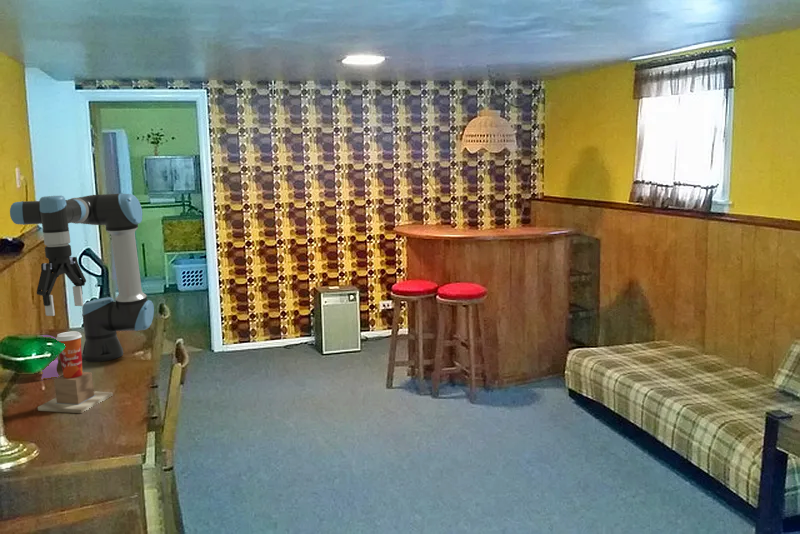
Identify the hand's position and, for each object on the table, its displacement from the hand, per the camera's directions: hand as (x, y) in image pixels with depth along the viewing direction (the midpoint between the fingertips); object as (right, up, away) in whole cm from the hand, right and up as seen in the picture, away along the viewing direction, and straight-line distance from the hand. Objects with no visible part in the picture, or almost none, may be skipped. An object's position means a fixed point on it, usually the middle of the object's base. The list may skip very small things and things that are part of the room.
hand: (65, 310), depth 234 cm
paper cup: (+1, -21, +3) cm, 22 cm away
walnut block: (+2, -29, +4) cm, 29 cm away
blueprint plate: (+2, -30, +4) cm, 31 cm away
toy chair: (-22, -26, +34) cm, 48 cm away
